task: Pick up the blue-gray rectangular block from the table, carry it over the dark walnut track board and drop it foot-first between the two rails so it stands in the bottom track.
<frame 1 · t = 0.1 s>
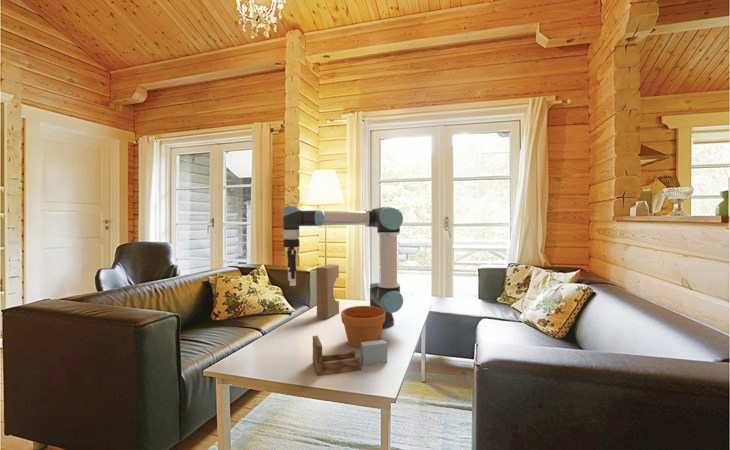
hand: (291, 283, 162), 28 cm above the table, fingers open, 13 cm apart
track: (336, 366, 135), on the table
decorative block: (328, 315, 206), on the table
flower pot: (363, 342, 161), on the table
blue-gray rectangular block: (374, 362, 138), on the table
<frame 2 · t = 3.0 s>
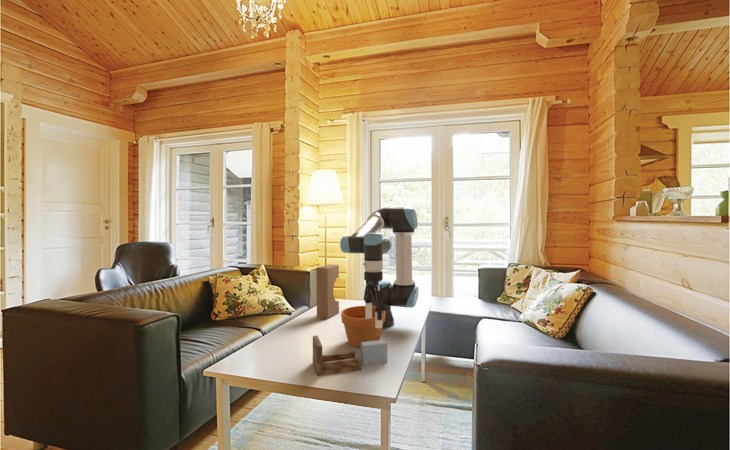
hand: (373, 323, 138), 16 cm above the table, fingers open, 13 cm apart
nothing on the table moved.
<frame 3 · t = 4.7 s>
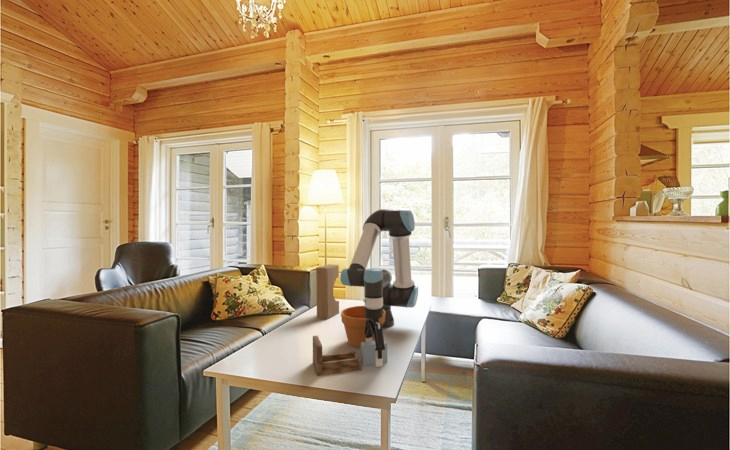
hand: (374, 359, 138), 1 cm above the table, fingers open, 12 cm apart
nothing on the table moved.
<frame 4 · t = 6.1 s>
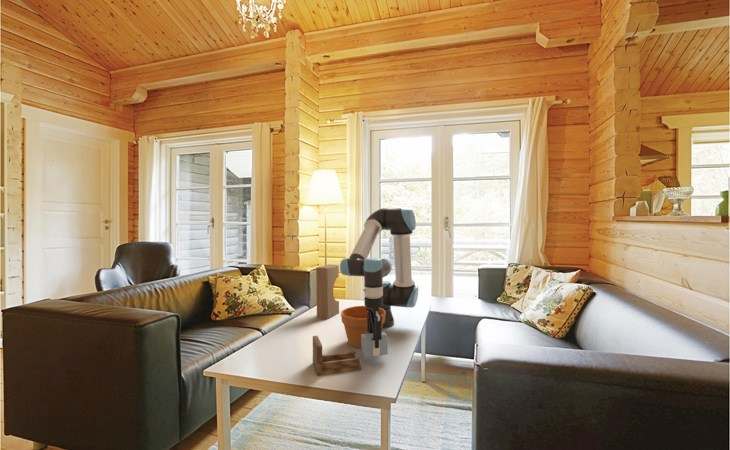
hand: (374, 352, 139), 4 cm above the table, fingers closed on blue-gray rectangular block, 4 cm apart
blue-gray rectangular block: (374, 354, 139), point 3 cm above the table, touching gripper
everything else where it was.
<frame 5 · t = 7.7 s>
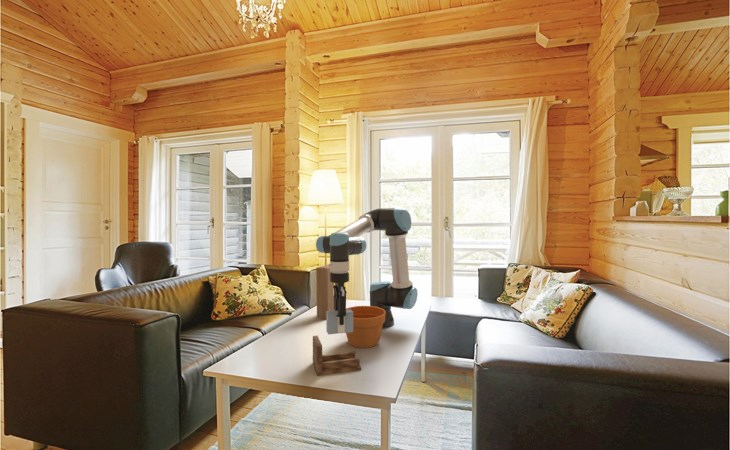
hand: (339, 330, 135), 14 cm above the table, fingers closed on blue-gray rectangular block, 4 cm apart
blue-gray rectangular block: (339, 331, 135), point 14 cm above the table, touching gripper
everything else where it was.
when the fingers open (5 cm above the table, at t = 9.3 s): blue-gray rectangular block drops 3 cm, resting on track.
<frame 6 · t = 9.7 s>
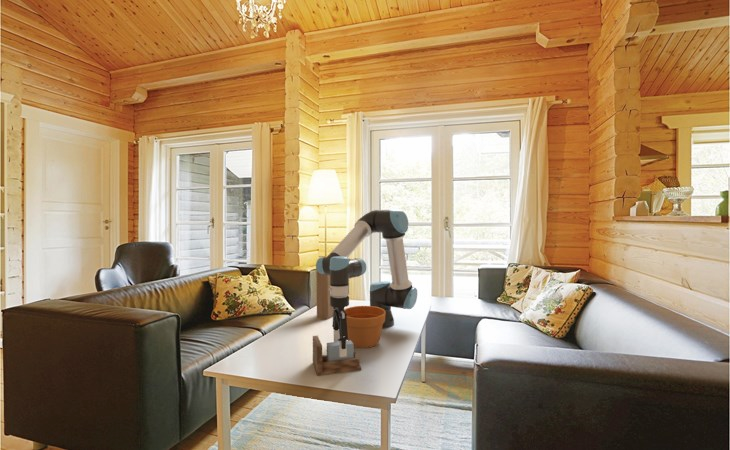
hand: (339, 351, 135), 6 cm above the table, fingers open, 10 cm apart
blue-gray rectangular block: (340, 363, 135), point 1 cm above the table, touching track
everything else where it was.
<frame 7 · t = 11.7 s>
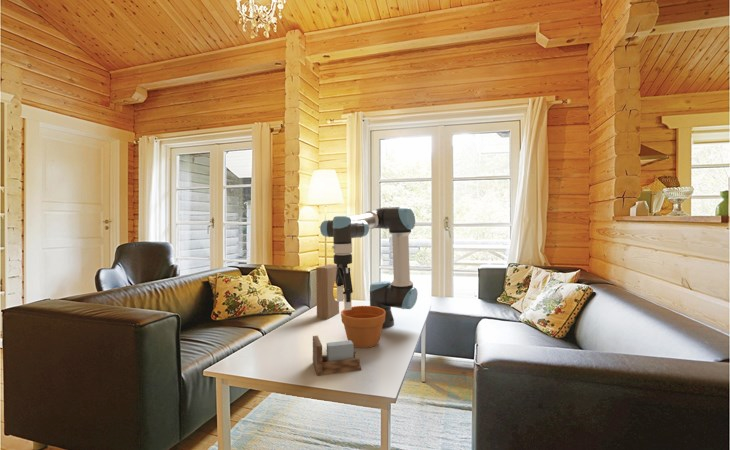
hand: (344, 305, 139), 23 cm above the table, fingers open, 13 cm apart
nothing on the table moved.
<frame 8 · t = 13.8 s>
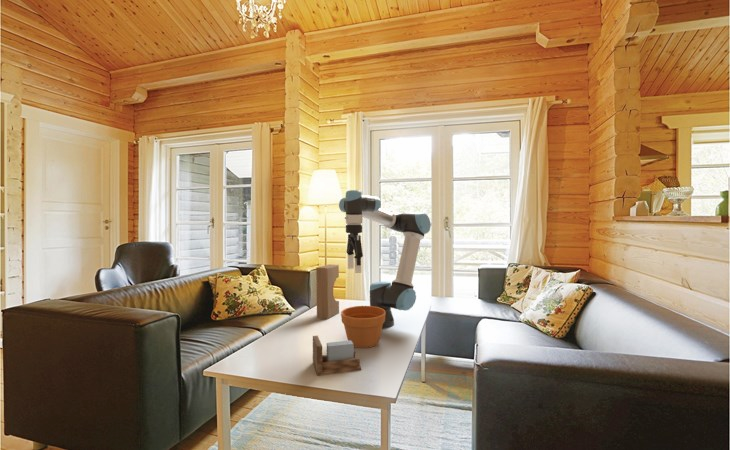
hand: (354, 270, 156), 35 cm above the table, fingers open, 13 cm apart
nothing on the table moved.
at the end: blue-gray rectangular block 0.2 cm from the target spot on the track, point 1.0 cm above the track's base; blue-gray rectangular block tilted 0°; the gripper is holding nothing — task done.
